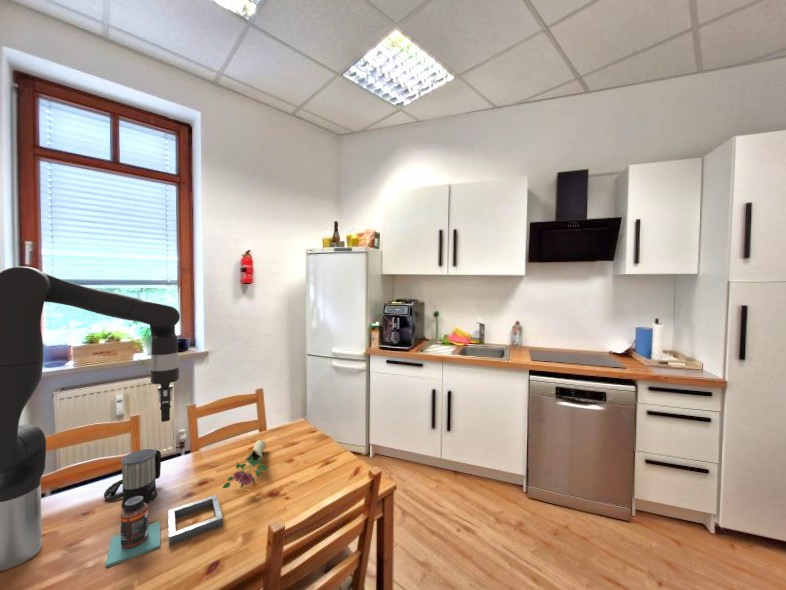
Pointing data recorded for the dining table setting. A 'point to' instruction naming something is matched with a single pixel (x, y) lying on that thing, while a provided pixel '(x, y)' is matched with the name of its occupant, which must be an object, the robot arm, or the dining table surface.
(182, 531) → the grey square frame
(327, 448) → the dining table surface
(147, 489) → the milk frother
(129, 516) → the supplement bottle
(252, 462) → the flower vase
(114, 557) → the teal mat
